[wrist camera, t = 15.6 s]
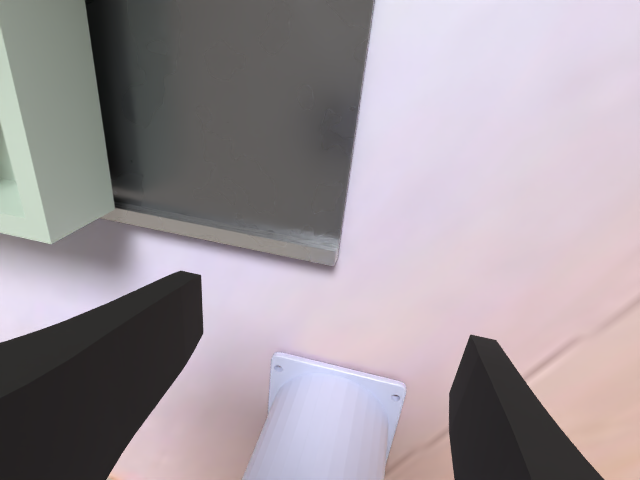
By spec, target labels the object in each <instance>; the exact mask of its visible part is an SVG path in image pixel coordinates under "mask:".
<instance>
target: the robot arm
mask: <svg viewBox="0 0 640 480" xmlns="http://www.w3.org/2000/svg"><path fill="white" fill-rule="evenodd" d="M202 335H203V313H202V288H201V275H198V274H194V273H189V272H185V271H179V272H176V273H173V274H171V275H168V276H166V277H164V278H162V279H159V280H157V281H155V282H153V283H151V284H149V285H146V286H144V287H142V288H140V289H138V290H136V291H133V292H131V293H129V294H127V295H125V296H122V297H120V298H118V299H116V300H114V301H111V302H109V303H107V304H104V305H102V306H100V307H97V308H95V309H92V310H90V311H88V312H85V313H83V314H80V315H78V316H75V317H73V318H71V319H68V320H66V321H63V322H61V323H58V324H55V325H52V326H50V327H47V328H44V329H41V330H38V331H35V332H32V333H29V334H26V335H23V336H20V337H17V338H14V339H11V340H8V341H5V342H1V343H0V480H106V479H107V477H108V476H109V474H110V472H111V471H112V469H113V468H114V466H115V464H116V463H117V461H118V459H119V458H120V456H121V454H122V453H123V451H124V450H125V448H126V447H127V445H128V444H129V442H130V441H131V439H132V438H133V436H134V435H135V434H136V432H137V431H138V429H139V428H140V427H141V425H142V424H143V423H144V421H145V420H146V419H147V417H148V416H149V415H150V413H151V412H152V411H153V409H154V408H155V406H156V405H157V404H158V402H159V401H160V400H161V398H162V397H163V396H164V394H165V393H166V392H167V390H168V389H169V388H170V386H171V385H172V383H173V382H174V381H175V379H176V378H177V377H178V375H179V374H180V372H181V371H182V370H183V368H184V367H185V365H186V364H187V362H188V360H189V359H190V357H191V355H192V353H193V352H194V350H195V348H196V346H197V344H198V342H199V340H200V339H201V337H202ZM277 365H279V366H281V367H278V366H277ZM394 395H398V396H394ZM405 396H406V385H405V384H404V383H403V382H401V381H397V380H393V379H389V378H385V377H381V376H377V375H373V374H369V373H364V372H360V371H356V370H352V369H348V368H344V367H340V366H336V365H332V364H327V363H323V362H319V361H315V360H311V359H307V358H303V357H299V356H295V355H290V354H286V353H282V352H276V353H274V354H273V357H272V359H271V370H270V386H269V402H268V416H267V419H266V421H265V424H264V426H263V429H262V431H261V434H260V436H259V439H258V441H257V443H256V446H255V448H254V451H253V453H252V456H251V458H250V461H249V463H248V466H247V468H246V470H245V473H244V475H243V478H242V480H384V476H385V465H386V462H387V458H388V455H389V451H390V448H391V444H392V441H393V437H394V434H395V430H396V427H397V424H398V420H399V417H400V413H401V410H402V406H403V403H404V399H405ZM449 435H450V444H451V453H452V462H453V470H454V478H455V480H604V479H603V478H602V477H601V476H600V475H599V473H598V472H597V471H596V470H595V469H594V468H593V467H592V465H591V464H590V463H589V462H588V461H587V460H586V459H585V457H584V456H583V455H582V454H581V453H580V452H579V450H578V449H577V448H576V447H575V445H574V444H573V443H572V442H571V441H570V439H569V438H568V437H567V436H566V435H565V433H564V432H563V431H562V430H561V429H560V427H559V426H558V425H557V423H556V422H555V421H554V420H553V418H552V417H551V416H550V415H549V413H548V412H547V411H546V409H545V408H544V407H543V405H542V404H541V403H540V401H539V400H538V399H537V397H536V396H535V395H534V393H533V392H532V390H531V389H530V388H529V386H528V385H527V384H526V382H525V381H524V379H523V378H522V376H521V375H520V374H519V372H518V371H517V369H516V368H515V367H514V365H513V364H512V362H511V361H510V359H509V358H508V356H507V355H506V354H505V352H504V351H503V349H502V348H501V346H500V345H499V344H498V342H497V341H496V340H493V339H488V338H484V337H479V336H475V335H470V337H469V340H468V343H467V345H466V348H465V351H464V354H463V357H462V359H461V362H460V365H459V368H458V371H457V373H456V376H455V379H454V382H453V385H452V387H451V390H450V393H449Z"/></svg>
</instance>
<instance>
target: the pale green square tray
mask: <svg viewBox="0 0 640 480" xmlns="http://www.w3.org/2000/svg"><path fill="white" fill-rule="evenodd" d="M113 210H115V206H114V199H113V192H112V185H111V178H110V171H109V164H108V157H107V150H106V143H105V137H104V130H103V123H102V116H101V109H100V102H99V95H98V88H97V81H96V74H95V67H94V61H93V54H92V47H91V40H90V33H89V26H88V19H87V12H86V5H85V0H0V233H3V234H7V235H12V236H16V237H21V238H25V239H30V240H34V241H39V242H43V243H48V244H53V243H55V242H57V241H58V240H60V239H62V238H64V237H66V236H68V235H69V234H71V233H73V232H75V231H77V230H78V229H80V228H82V227H84V226H86V225H87V224H89V223H91V222H93V221H95V220H97V219H98V218H100V217H102V216H104V215H106V214H107V213H109V212H111V211H113Z"/></svg>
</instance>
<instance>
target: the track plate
mask: <svg viewBox="0 0 640 480" xmlns="http://www.w3.org/2000/svg"><path fill="white" fill-rule="evenodd" d="M374 2H375V0H85V5H86V12H87V19H88V26H89V33H90V40H91V47H92V54H93V61H94V67H95V74H96V81H97V88H98V95H99V102H100V109H101V116H102V123H103V130H104V137H105V143H106V150H107V157H108V164H109V171H110V178H111V185H112V192H113V199H114V206H115V210H113V211H111V212H109V213H107V214H106V215H104V216H102V217H100V218H101V219H106V220H111V221H116V222H121V223H125V224H130V225H135V226H140V227H145V228H150V229H154V230H159V231H164V232H169V233H174V234H179V235H184V236H188V237H193V238H198V239H203V240H208V241H213V242H218V243H222V244H227V245H232V246H237V247H242V248H247V249H252V250H256V251H261V252H266V253H271V254H276V255H281V256H285V257H290V258H295V259H300V260H305V261H310V262H315V263H319V264H324V265H329V266H335V263H336V260H337V258H338V252H339V245H340V238H341V231H342V224H343V217H344V210H345V203H346V196H347V189H348V182H349V176H350V169H351V162H352V155H353V148H354V141H355V134H356V127H357V120H358V113H359V106H360V99H361V92H362V85H363V78H364V71H365V64H366V57H367V50H368V43H369V36H370V29H371V22H372V15H373V9H374Z"/></svg>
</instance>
